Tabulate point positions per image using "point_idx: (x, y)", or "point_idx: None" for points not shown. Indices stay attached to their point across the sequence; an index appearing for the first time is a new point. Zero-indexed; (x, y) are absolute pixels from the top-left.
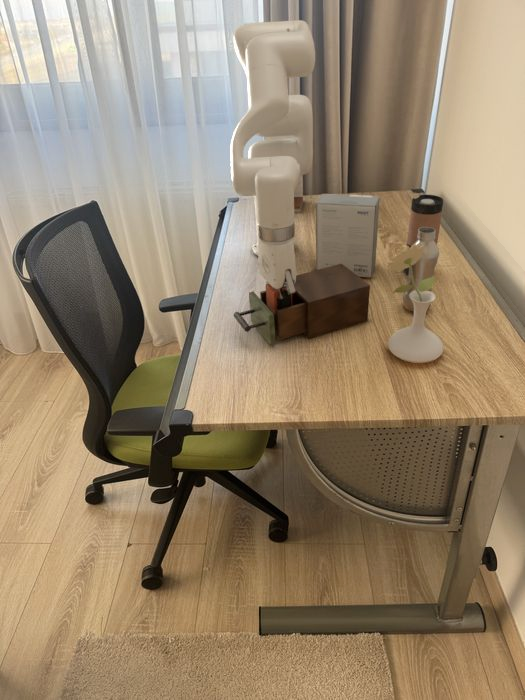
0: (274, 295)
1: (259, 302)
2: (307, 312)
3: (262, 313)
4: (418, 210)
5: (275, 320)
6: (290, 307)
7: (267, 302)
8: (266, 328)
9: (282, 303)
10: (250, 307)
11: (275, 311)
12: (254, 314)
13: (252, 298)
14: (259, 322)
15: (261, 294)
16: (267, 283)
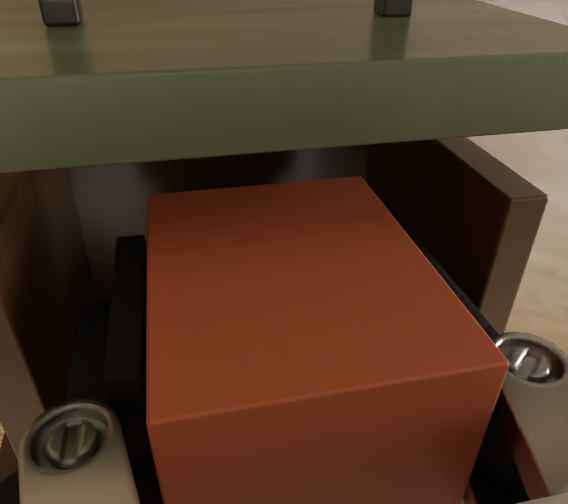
0: (150, 385)
1: (297, 96)
2: (15, 458)
3: (111, 47)
4: None
5: (281, 168)
6: (13, 406)
7: (353, 200)
8: (16, 15)
9: (82, 369)
10: (487, 9)
11: (149, 221)
12: (370, 6)
13: (496, 47)
14: (232, 5)
15: (499, 194)
16: (540, 368)
